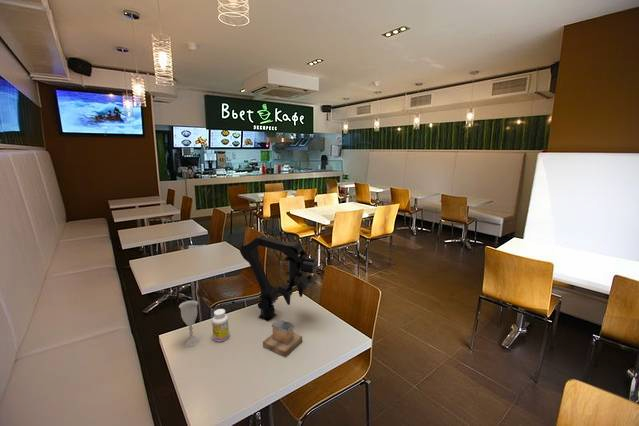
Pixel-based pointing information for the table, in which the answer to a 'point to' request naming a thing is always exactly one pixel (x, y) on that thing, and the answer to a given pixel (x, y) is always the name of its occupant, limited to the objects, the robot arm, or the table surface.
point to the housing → (282, 331)
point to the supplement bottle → (220, 325)
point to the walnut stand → (282, 345)
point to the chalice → (189, 319)
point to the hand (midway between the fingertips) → (294, 300)
